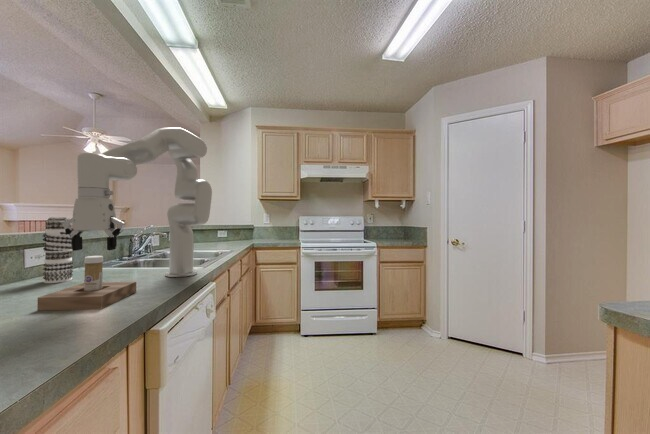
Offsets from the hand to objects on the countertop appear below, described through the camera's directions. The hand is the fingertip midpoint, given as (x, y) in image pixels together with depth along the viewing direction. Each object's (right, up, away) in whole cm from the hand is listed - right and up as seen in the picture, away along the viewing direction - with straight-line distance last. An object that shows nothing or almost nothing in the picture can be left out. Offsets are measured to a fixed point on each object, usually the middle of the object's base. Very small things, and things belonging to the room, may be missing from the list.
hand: (94, 249), depth 88 cm
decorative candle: (-34, -15, +25) cm, 45 cm away
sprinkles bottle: (0, -16, 0) cm, 16 cm away
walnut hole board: (0, -15, -1) cm, 15 cm away
